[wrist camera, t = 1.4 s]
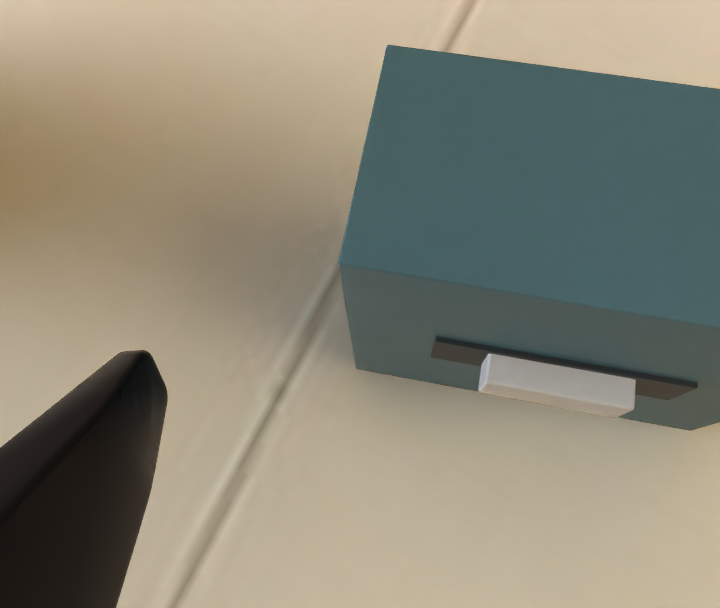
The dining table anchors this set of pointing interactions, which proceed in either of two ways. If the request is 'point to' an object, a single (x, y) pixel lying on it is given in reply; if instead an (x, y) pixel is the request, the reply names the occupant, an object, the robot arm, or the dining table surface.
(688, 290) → the small tissue box
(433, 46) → the dining table surface
